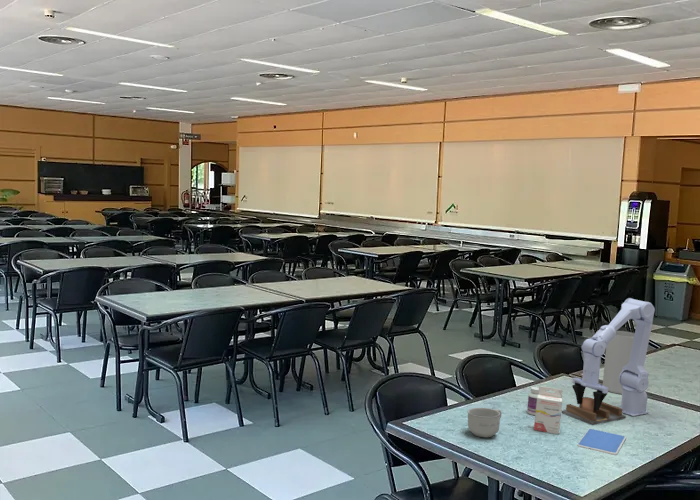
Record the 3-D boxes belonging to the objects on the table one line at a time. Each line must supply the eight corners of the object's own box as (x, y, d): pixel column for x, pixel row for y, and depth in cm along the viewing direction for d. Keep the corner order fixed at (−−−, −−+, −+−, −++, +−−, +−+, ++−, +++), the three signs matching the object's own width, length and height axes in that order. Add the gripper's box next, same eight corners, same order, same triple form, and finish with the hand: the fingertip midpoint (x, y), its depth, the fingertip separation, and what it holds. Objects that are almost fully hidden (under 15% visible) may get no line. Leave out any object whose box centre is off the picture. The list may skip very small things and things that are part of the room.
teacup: (479, 442, 219) (481, 418, 218) (459, 430, 228) (461, 407, 227) (512, 437, 225) (514, 413, 224) (491, 426, 235) (493, 404, 234)
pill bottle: (542, 416, 248) (544, 391, 248) (527, 414, 250) (529, 389, 249) (541, 412, 254) (543, 387, 253) (526, 410, 255) (528, 385, 254)
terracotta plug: (586, 412, 254) (587, 396, 253) (595, 415, 250) (596, 399, 250) (579, 413, 251) (580, 397, 251) (587, 416, 248) (589, 401, 248)
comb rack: (594, 407, 264) (595, 398, 264) (625, 418, 252) (626, 409, 252) (561, 413, 254) (562, 404, 254) (592, 425, 242) (593, 415, 242)
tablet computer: (616, 457, 214) (616, 453, 213) (575, 447, 220) (576, 443, 220) (626, 439, 230) (626, 436, 230) (588, 431, 237) (588, 427, 236)
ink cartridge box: (533, 430, 233) (537, 389, 231) (534, 426, 237) (538, 385, 236) (559, 434, 230) (563, 392, 229) (559, 430, 235) (563, 389, 233)
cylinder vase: (599, 385, 297) (604, 329, 295) (628, 387, 295) (634, 332, 293) (606, 393, 285) (611, 335, 283) (636, 396, 283) (642, 337, 281)
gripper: (568, 367, 253) (565, 402, 255) (600, 377, 241) (597, 414, 242) (580, 365, 257) (577, 400, 258) (613, 375, 245) (609, 411, 246)
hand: (588, 406), depth 251 cm, fingers open, 7 cm apart
